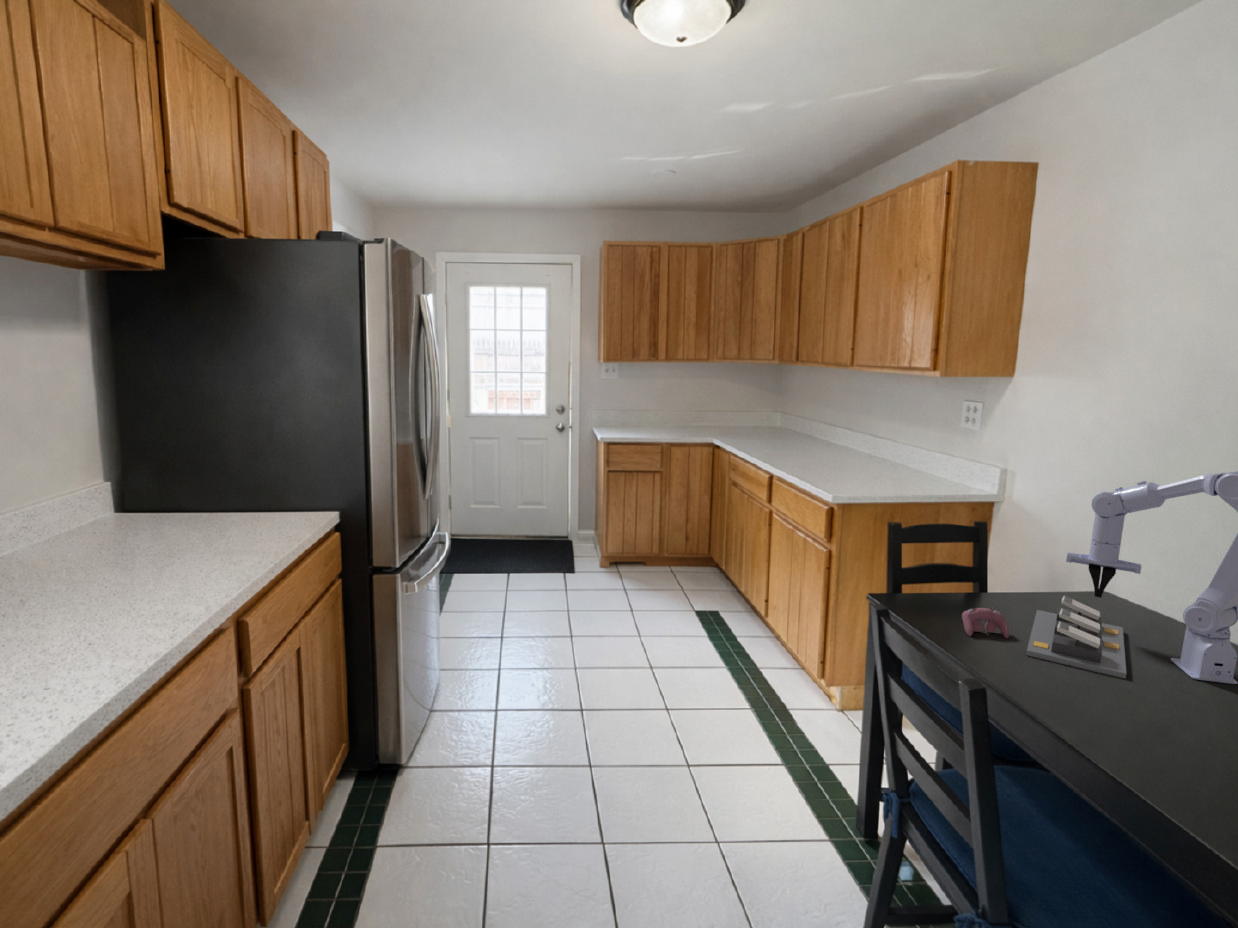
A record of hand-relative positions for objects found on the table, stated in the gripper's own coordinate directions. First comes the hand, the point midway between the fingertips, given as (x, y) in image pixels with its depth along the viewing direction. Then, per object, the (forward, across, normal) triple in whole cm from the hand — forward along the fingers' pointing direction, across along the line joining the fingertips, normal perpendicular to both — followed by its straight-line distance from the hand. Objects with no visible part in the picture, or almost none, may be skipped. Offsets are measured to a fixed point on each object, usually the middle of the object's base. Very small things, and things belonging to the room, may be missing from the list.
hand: (1097, 595), depth 165 cm
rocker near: (+4, +3, +20) cm, 21 cm away
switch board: (+9, +3, +10) cm, 14 cm away
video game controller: (+10, +22, +17) cm, 29 cm away
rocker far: (+4, +3, 0) cm, 5 cm away
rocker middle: (+4, +3, +10) cm, 11 cm away
